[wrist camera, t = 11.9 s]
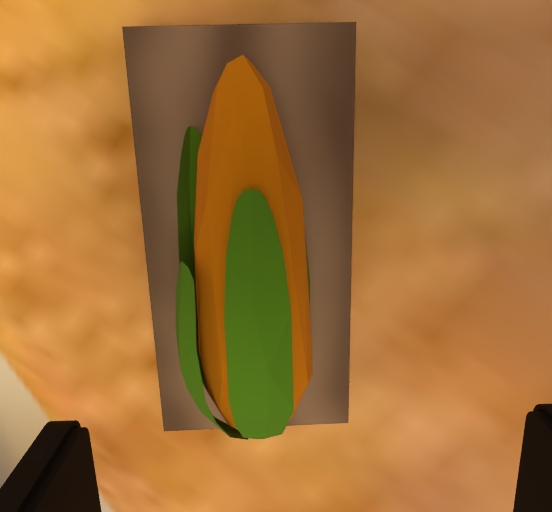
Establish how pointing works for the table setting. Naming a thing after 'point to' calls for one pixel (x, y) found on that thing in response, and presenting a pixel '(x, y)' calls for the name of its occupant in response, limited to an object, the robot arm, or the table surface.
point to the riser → (306, 162)
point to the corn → (242, 262)
